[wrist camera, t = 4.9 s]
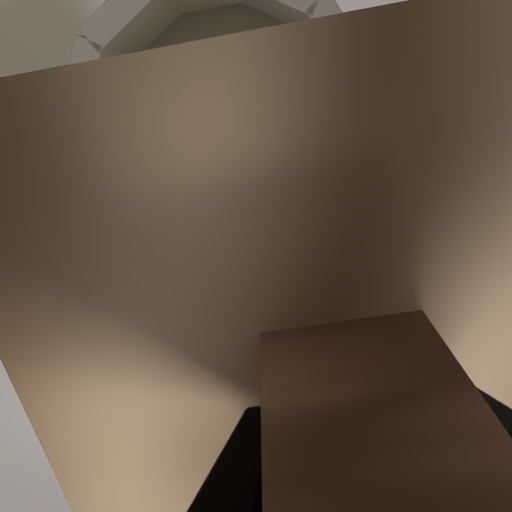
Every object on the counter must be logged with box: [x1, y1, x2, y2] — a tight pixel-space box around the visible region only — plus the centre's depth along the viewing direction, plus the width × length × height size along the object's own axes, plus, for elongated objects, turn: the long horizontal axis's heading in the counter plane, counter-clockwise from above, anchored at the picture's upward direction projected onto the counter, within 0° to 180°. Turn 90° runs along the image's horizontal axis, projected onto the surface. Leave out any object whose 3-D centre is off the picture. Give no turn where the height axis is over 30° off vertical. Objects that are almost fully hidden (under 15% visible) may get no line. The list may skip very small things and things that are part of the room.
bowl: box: [69, 0, 343, 65], centre depth 16 cm, size 10×10×5 cm
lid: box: [0, 0, 512, 512], centre depth 7 cm, size 13×13×5 cm
